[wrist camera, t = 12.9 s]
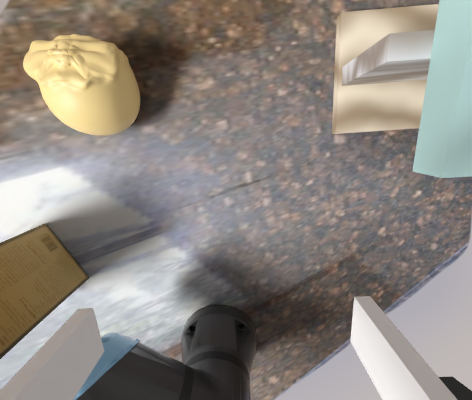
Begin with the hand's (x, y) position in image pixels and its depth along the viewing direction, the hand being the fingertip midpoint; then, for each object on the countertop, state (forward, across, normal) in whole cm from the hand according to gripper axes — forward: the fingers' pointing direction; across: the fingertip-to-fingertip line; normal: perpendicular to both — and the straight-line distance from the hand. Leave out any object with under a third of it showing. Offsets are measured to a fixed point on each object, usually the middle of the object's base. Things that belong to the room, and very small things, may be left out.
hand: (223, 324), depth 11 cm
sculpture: (+29, +18, -17) cm, 38 cm away
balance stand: (+29, -23, -17) cm, 40 cm away
